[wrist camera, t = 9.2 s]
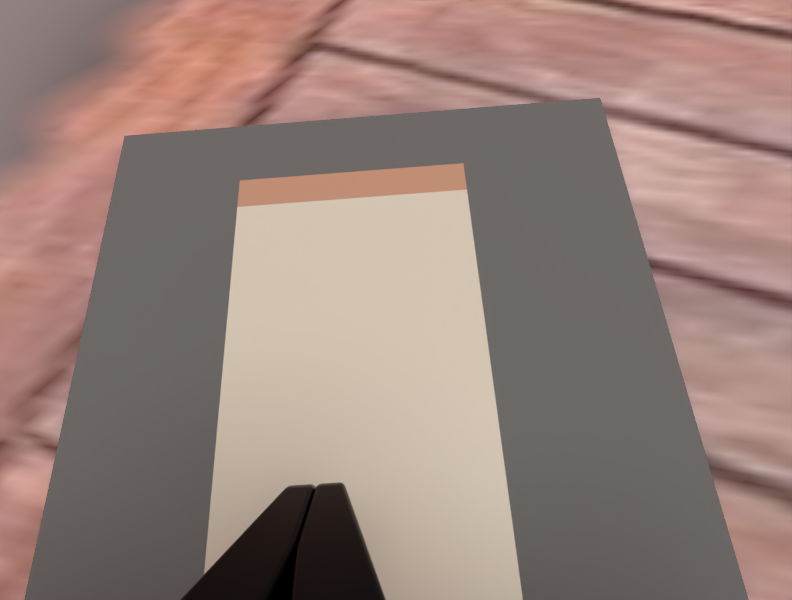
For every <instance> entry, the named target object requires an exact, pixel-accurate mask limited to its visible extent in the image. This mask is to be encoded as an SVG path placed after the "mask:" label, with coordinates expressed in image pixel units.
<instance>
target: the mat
mask: <svg viewBox="0 0 792 600" xmlns="http://www.w3.org/2000/svg"><path fill="white" fill-rule="evenodd" d="M459 163H463V164H464V172H465V179H466V186H467V194H468V201H469V208H470V216H471V223H472V230H473V238H474V245H475V252H476V260H477V267H478V274H479V282H480V289H481V296H482V304H483V311H484V318H485V326H486V333H487V340H488V348H489V355H490V362H491V370H492V377H493V384H494V392H495V399H496V406H497V414H498V421H499V428H500V436H501V443H502V450H503V458H504V465H505V472H506V480H507V487H508V494H509V502H510V509H511V516H512V524H513V531H514V538H515V546H516V553H517V560H518V568H519V575H520V582H521V590H522V597H523V600H748V596H747V593H746V590H745V586H744V583H743V580H742V576H741V573H740V569H739V566H738V563H737V559H736V556H735V552H734V549H733V546H732V542H731V539H730V536H729V532H728V529H727V525H726V522H725V519H724V515H723V512H722V509H721V505H720V502H719V498H718V495H717V492H716V488H715V485H714V481H713V478H712V475H711V471H710V468H709V465H708V461H707V458H706V454H705V451H704V448H703V444H702V441H701V438H700V434H699V431H698V427H697V424H696V421H695V417H694V414H693V410H692V407H691V404H690V400H689V397H688V394H687V390H686V387H685V383H684V380H683V377H682V373H681V370H680V367H679V363H678V360H677V356H676V353H675V350H674V346H673V343H672V339H671V336H670V333H669V329H668V326H667V323H666V319H665V316H664V312H663V309H662V306H661V302H660V299H659V296H658V292H657V289H656V285H655V282H654V279H653V275H652V272H651V268H650V265H649V262H648V258H647V255H646V252H645V248H644V245H643V241H642V238H641V235H640V231H639V228H638V225H637V221H636V218H635V214H634V211H633V208H632V204H631V201H630V197H629V194H628V191H627V187H626V184H625V181H624V177H623V174H622V170H621V167H620V164H619V160H618V157H617V154H616V150H615V147H614V143H613V140H612V137H611V133H610V130H609V126H608V123H607V120H606V116H605V113H604V110H603V106H602V103H601V99H600V98H594V99H582V100H569V101H557V102H544V103H532V104H519V105H507V106H494V107H482V108H469V109H456V110H444V111H431V112H419V113H406V114H394V115H381V116H369V117H356V118H344V119H331V120H319V121H306V122H294V123H281V124H269V125H256V126H244V127H231V128H219V129H206V130H194V131H181V132H169V133H156V134H143V135H131V136H125V137H124V141H123V146H122V151H121V155H120V160H119V165H118V169H117V174H116V179H115V183H114V188H113V192H112V197H111V202H110V206H109V211H108V216H107V220H106V225H105V229H104V234H103V239H102V243H101V248H100V253H99V257H98V262H97V267H96V271H95V276H94V280H93V285H92V290H91V294H90V299H89V304H88V308H87V313H86V317H85V322H84V327H83V331H82V336H81V341H80V345H79V350H78V355H77V359H76V364H75V368H74V373H73V378H72V382H71V387H70V392H69V396H68V401H67V405H66V410H65V415H64V419H63V424H62V429H61V433H60V438H59V443H58V447H57V452H56V456H55V461H54V466H53V470H52V475H51V480H50V484H49V489H48V493H47V498H46V503H45V507H44V512H43V517H42V521H41V526H40V531H39V535H38V540H37V544H36V549H35V554H34V558H33V563H32V568H31V572H30V577H29V581H28V586H27V591H26V595H25V600H180V599H181V598H182V597H183V596H184V595H185V594H186V593H187V592H188V591H189V590H190V589H191V588H192V587H193V586H194V585H195V583H196V582H197V581H198V580H199V579H200V578H201V577H202V576H203V575H204V569H205V558H206V547H207V536H208V525H209V514H210V503H211V492H212V481H213V470H214V459H215V448H216V437H217V425H218V414H219V403H220V392H221V381H222V370H223V359H224V348H225V337H226V326H227V315H228V304H229V293H230V282H231V271H232V260H233V249H234V238H235V227H236V216H237V205H238V194H239V183H240V180H252V179H265V178H278V177H291V176H304V175H317V174H330V173H343V172H356V171H369V170H382V169H395V168H408V167H421V166H433V165H446V164H459Z"/></svg>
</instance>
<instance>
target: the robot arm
mask: <svg viewBox="0 0 792 600" xmlns="http://www.w3.org/2000/svg"><path fill="white" fill-rule="evenodd" d="M180 600H386V599H385V596H384V593H383V590H382V588H381V585H380V582H379V579H378V576H377V574H376V571H375V568H374V565H373V562H372V560H371V557H370V554H369V551H368V548H367V546H366V543H365V540H364V537H363V534H362V532H361V529H360V526H359V523H358V520H357V518H356V515H355V512H354V509H353V506H352V504H351V501H350V498H349V495H348V492H347V490H346V487H345V485H344V484H343V483H342V482H336V483H321V484H319V485H317V486H316V487H315V486H314V485H313V484H304V485H291V486H288V487H286V488H285V489H284V490H283V491H282V492H281V493H280V494H279V495H278V496H277V497H276V499H275V500H274V501H273V502H272V503H271V504H270V505H269V506H268V507H267V508H266V509H265V510H264V511H263V512H262V513H261V514H260V516H259V517H258V518H257V519H256V520H255V521H254V522H253V523H252V524H251V525H250V526H249V527H248V528H247V529H246V530H245V531H244V533H243V534H242V535H241V536H240V537H239V538H238V539H237V540H236V541H235V542H234V543H233V544H232V545H231V546H230V547H229V548H228V549H227V551H226V552H225V553H224V554H223V555H222V556H221V557H220V558H219V559H218V560H217V561H216V562H215V563H214V564H213V565H212V566H211V568H210V569H209V570H208V571H207V572H206V573H205V574H204V575H203V576H202V577H201V578H200V579H199V580H198V581H197V582H196V583H195V585H194V586H193V587H192V588H191V589H190V590H189V591H188V592H187V593H186V594H185V595H184V596H183V597H182V598H181V599H180Z"/></svg>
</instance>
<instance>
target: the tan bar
mask: <svg viewBox="0 0 792 600" xmlns="http://www.w3.org/2000/svg"><path fill="white" fill-rule="evenodd" d="M336 482H342V483H343V484H344V485H345V487H346V490H347V492H348V495H349V498H350V501H351V504H352V506H353V509H354V512H355V515H356V518H357V520H358V523H359V526H360V529H361V532H362V534H363V537H364V540H365V543H366V546H367V548H368V551H369V554H370V557H371V560H372V562H373V565H374V568H375V571H376V574H377V576H378V579H379V582H380V585H381V588H382V590H383V593H384V596H385V599H386V600H523V597H522V590H521V582H520V575H519V568H518V560H517V553H516V546H515V538H514V531H513V524H512V516H511V509H510V502H509V494H508V487H507V480H506V472H505V465H504V458H503V450H502V443H501V436H500V428H499V421H498V414H497V406H496V399H495V392H494V384H493V377H492V370H491V362H490V355H489V348H488V340H487V333H486V326H485V318H484V311H483V304H482V296H481V289H480V282H479V274H478V267H477V260H476V252H475V245H474V238H473V230H472V223H471V216H470V208H469V201H468V194H467V186H466V179H465V172H464V164H463V163H459V164H446V165H433V166H421V167H408V168H395V169H382V170H369V171H356V172H343V173H330V174H317V175H304V176H291V177H278V178H265V179H252V180H240V183H239V194H238V205H237V216H236V227H235V238H234V249H233V260H232V271H231V282H230V293H229V304H228V315H227V326H226V337H225V348H224V359H223V370H222V381H221V392H220V403H219V414H218V425H217V437H216V448H215V459H214V470H213V481H212V492H211V503H210V514H209V525H208V536H207V547H206V558H205V569H204V574H205V573H206V572H207V571H208V570H209V569H210V568H211V566H212V565H213V564H214V563H215V562H216V561H217V560H218V559H219V558H220V557H221V556H222V555H223V554H224V553H225V552H226V551H227V549H228V548H229V547H230V546H231V545H232V544H233V543H234V542H235V541H236V540H237V539H238V538H239V537H240V536H241V535H242V534H243V533H244V531H245V530H246V529H247V528H248V527H249V526H250V525H251V524H252V523H253V522H254V521H255V520H256V519H257V518H258V517H259V516H260V514H261V513H262V512H263V511H264V510H265V509H266V508H267V507H268V506H269V505H270V504H271V503H272V502H273V501H274V500H275V499H276V497H277V496H278V495H279V494H280V493H281V492H282V491H283V490H284V489H285V488H286V487H288V486H291V485H304V484H313V485H314V486H315V487H316V486H317V485H319V484H321V483H336Z"/></svg>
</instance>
